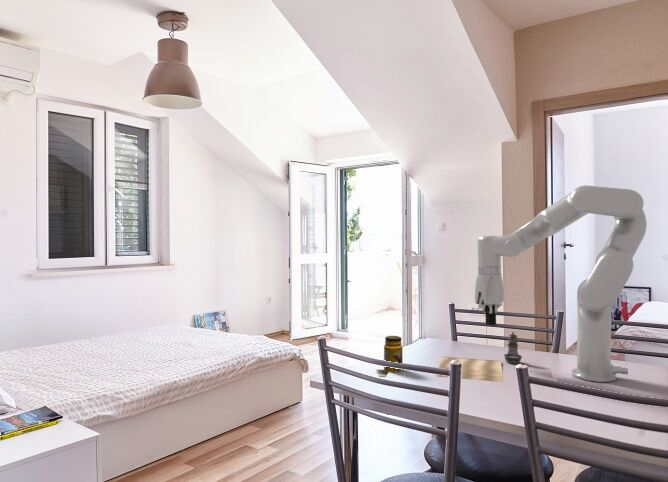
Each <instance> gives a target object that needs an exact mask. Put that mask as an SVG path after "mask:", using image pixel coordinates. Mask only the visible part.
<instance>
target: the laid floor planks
mask: <svg viewBox="0 0 668 482" xmlns="http://www.w3.org/2000/svg"><path fill="white" fill-rule="evenodd" d="M445 369H448V368H445ZM435 376H436V377H438V378H439V377H441V378H449V377H448V376H442V375H437V374H436V375H435ZM461 379H464V380H477V381H489V382H500V383H504V376H503V372H502V373H499V372H486V371H474V370H462V378H461Z"/></svg>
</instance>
